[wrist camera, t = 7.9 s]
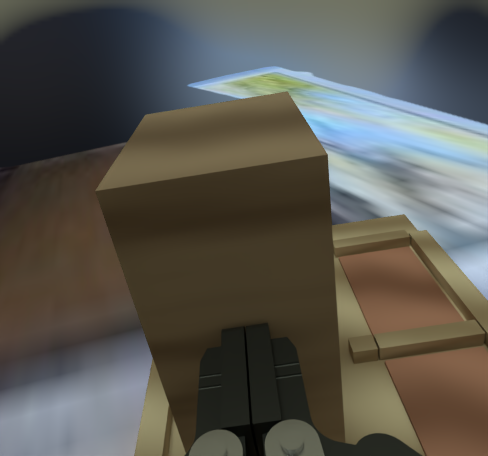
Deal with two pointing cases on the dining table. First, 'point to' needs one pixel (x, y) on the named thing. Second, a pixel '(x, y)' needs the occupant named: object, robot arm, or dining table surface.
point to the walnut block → (228, 243)
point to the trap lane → (390, 346)
